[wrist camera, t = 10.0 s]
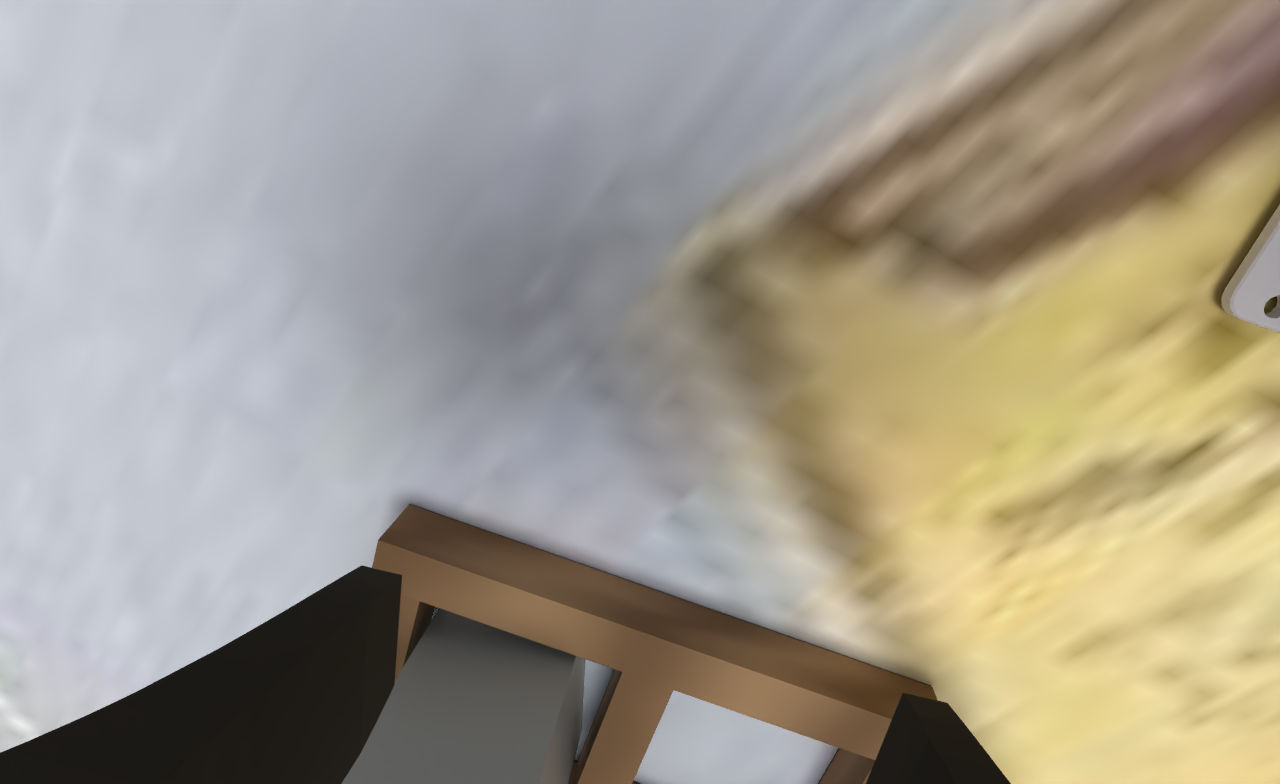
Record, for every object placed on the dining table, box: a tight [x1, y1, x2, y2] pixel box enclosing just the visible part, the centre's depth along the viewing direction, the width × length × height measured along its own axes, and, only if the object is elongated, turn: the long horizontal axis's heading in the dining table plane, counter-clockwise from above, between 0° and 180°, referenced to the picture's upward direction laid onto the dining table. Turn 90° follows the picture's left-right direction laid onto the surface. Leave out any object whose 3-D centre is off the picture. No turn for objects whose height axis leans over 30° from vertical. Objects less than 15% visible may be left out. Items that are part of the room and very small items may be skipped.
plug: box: [342, 608, 585, 784], centre depth 19 cm, size 4×4×8 cm
